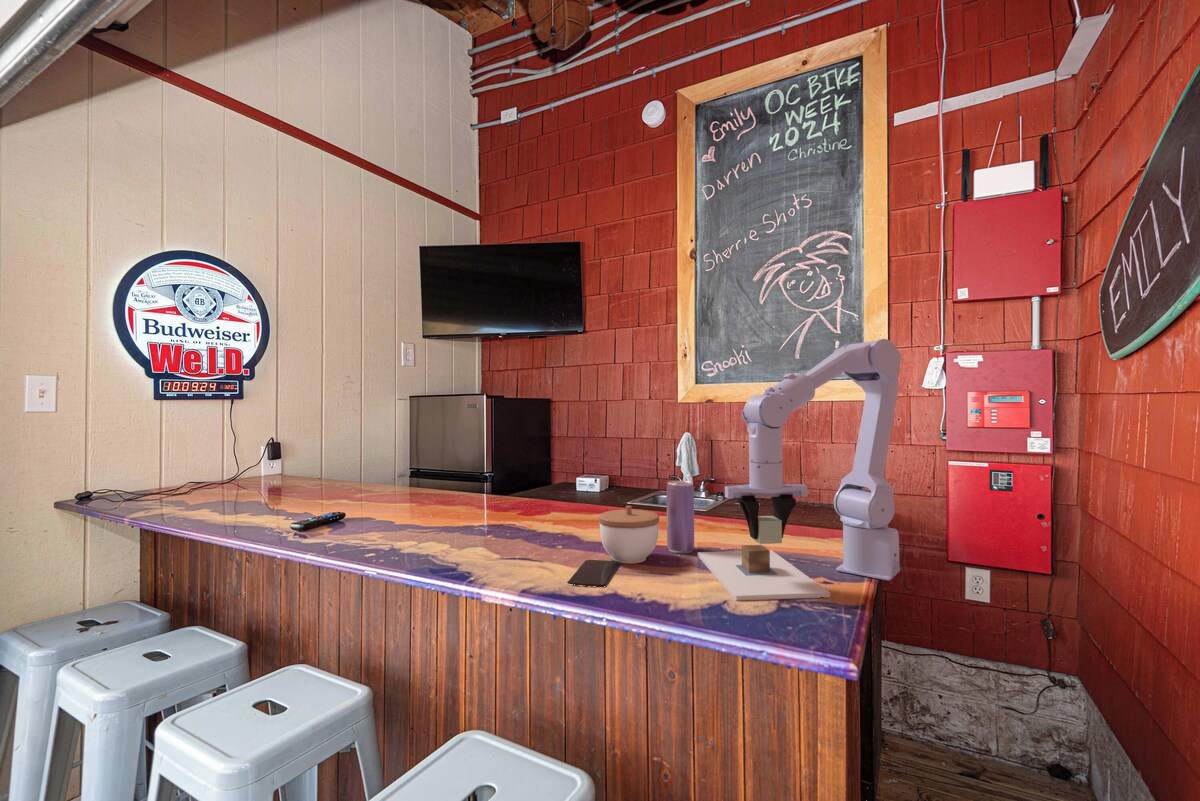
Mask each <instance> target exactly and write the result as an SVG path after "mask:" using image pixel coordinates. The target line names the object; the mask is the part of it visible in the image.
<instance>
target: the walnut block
mask: <svg viewBox="0 0 1200 801" xmlns="http://www.w3.org/2000/svg"><path fill="white" fill-rule="evenodd" d="M770 550H771V549H768V548H766V546H764V544H753V545H752V544H750V545H741V551H742V567H743V568H744V569H745V570H747V571H748V572H749V573H755V572H770Z"/></svg>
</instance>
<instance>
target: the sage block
mask: <svg viewBox="0 0 1200 801" xmlns="http://www.w3.org/2000/svg"><path fill="white" fill-rule="evenodd" d="M751 539H752V540H754V541H755V542H756V543H758V545H764V544H765V545H766V544H767V545H768V544H769V545H770V544H782V543H783V541H782V540H783V538H782V520H780V519H778V518H776V517H774V515H758V539H753V538H752V537H751Z"/></svg>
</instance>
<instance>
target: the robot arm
mask: <svg viewBox="0 0 1200 801" xmlns="http://www.w3.org/2000/svg"><path fill="white" fill-rule="evenodd" d="M902 357H903V356H902V354H901V352H900V350H899V349H898V348H897V346H896V345H895V343H894V342H893V341H891V340H889V339H888V338H881V339H877V340H872V341H865V342H857V343H845V344H844V345H842V346H841V347H839V348H836V349H834V351H833V352H832V353H831V354H830V355H829V356H827V357H825V359H823V360H822V361H820V362H818V364H816V365H815V366H813V367H812V368H811V369H809V370H808V371H807V372H805V373H804V374H803V373H800V372H790V373H786V374H785V375H783V380H782V381H780V382H778V383H776V384H775V385H773V386H768V387H766V388H765V389H764V393H763V394H757V395H756V394H755V395H753V396H751V397H749V398H748V399H747V400H746V403H745V405H744V407H743V409H742V410H741V411H740V412H741V417H742V420H743V421H744V423H745V424H746V427H747V428H746V430H747V433H748V463H749V464H748V467H749V469H748V470H749V472H748V474H749V475H748V476H749V481H748V482H749V483H748V484H739V485H738V484H737V485H725V486H724V497H725V498H726V499H729V500H731V499H736V500H737V503H738V504H739V506H740V508H741V509H742V512H743V514H744V517H745V520H746V522H747V527H748V530H749V537H751V539H752V538H753V539H752V540H754V539H758V516H759V511H760V505H761V503H760V502H759V501H757V498H771V500H772V506H773V507H772V508H773V516H774V517H776V518H778V519H780V520H782V539H783V538H784V534H785V529H786V525H787V523H788V519H789V517H790V515H791V513H792V511H793V509H794V508H795V506H796V504H797V500H796V498H794V497H803V498H804V497H808V486H807V485H805V484H803V483H802V484H801V483H800V484H799V483H798V484H795V483H794V484H793V483H792V484H791V483H790V484H789V483H788V484H787V483H783V426H784V425H786V423H787V422H788V420H789V417H790V414H793V413H794V412H795V411H797V410H798V409H800V408H801V407H802V406H804V405H806V404H807V403H808V402H811V400H813V399H814V398H815V394H816V390H817V389H818V388H820V387H822V386H824V385H825V384H827V383H828V382H830V381H832V380H833V379H835V378H837V377H839V376H841V375H842V374H844V375H845V376H846V377H847V378H849V379H850V380H852V381H853V382H854V383H855V384H856V385H857V386H859V387H860V388H862V390H863V391H864V392H865V396H864V403H863V408H862V412H861V413H862V414H861V421H860V426H859V432H858V438H857V442H856V446H855V454H854V459H853V465H852V471H850V472H849V473H848V474H847V475H845V476H844V477H842V478H841V482H840V486H839V487H838V490H837V492H836V493H835V494H834V498H833V508H834V510H835V512H836V513H837V515H838V516H840V519H839V520H840V521H841V522H842V535H843V536H842V541H843V542H842V544H843V545H842V547H843V549H842V550H843V551H842V554H843V556H842V559H843V562H842V564H840V565H838V566H837V567H836V570H835V571H837V572H842V573H847V574H852V575H858V576H863V577H867V578H873V579H878V580H884V581H892V580H893V578H894V577H895V576H897V574H899V573H900V572H901V568H900V536H899V535H900V534H899V530H898V529H897V528H892V527H889V526H888V525H889V524H890V523H891V521H892V520H893V518H894V515H895V508H896V507H895V502H894V493H895V489H894V487H893V486H892V485H891V484H890V483H889V482H888V481H887V480H886V478H885V477H884V476H885V470H886V463H887V459H888V458H887V457H888V452H889V447H890V446H889V445H890V441H891V440H890V439H891V434H892V428H893V423H894V417H895V412H896V406H897V401H898V400H897V399H898V393H899V374H900V367H901V362H902ZM866 489H869V490H866Z"/></svg>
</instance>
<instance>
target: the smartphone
mask: <svg viewBox="0 0 1200 801" xmlns="http://www.w3.org/2000/svg"><path fill="white" fill-rule="evenodd" d="M619 566H620V563H619V562H618V561H614V560H606V559H605V560H604V559H585V560H584V561H583V562H582V564H581V565H580V566H579V568H578V569H577V570H576V571H575V572H574V573H573V575H572V576H571V577H570V578H569V579H568V581H567V582H566V584H567V583H568V584H573V585H574V584H575V585H585V586H584V587H587V586H596V587H604V586H606V585H607V584H608V585H609V583H610V581H611V580H612V578H613V577H614V575H613V574H615V573H616V572H617V570H618V568H619ZM615 571H616V572H615ZM611 577H612V578H611ZM610 579H611V580H610ZM609 580H610V581H609ZM608 582H609V583H608ZM608 585H607V586H608ZM607 586H606V587H607ZM596 587H595V588H596ZM604 588H605V587H604Z"/></svg>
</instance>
